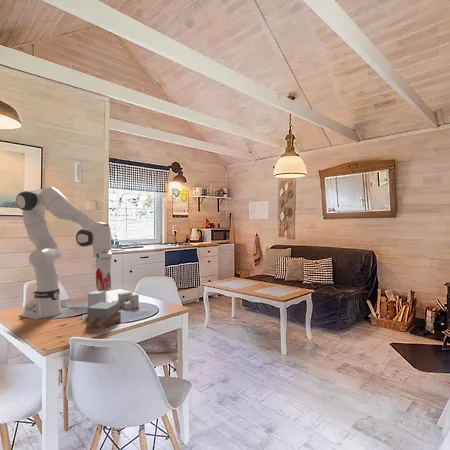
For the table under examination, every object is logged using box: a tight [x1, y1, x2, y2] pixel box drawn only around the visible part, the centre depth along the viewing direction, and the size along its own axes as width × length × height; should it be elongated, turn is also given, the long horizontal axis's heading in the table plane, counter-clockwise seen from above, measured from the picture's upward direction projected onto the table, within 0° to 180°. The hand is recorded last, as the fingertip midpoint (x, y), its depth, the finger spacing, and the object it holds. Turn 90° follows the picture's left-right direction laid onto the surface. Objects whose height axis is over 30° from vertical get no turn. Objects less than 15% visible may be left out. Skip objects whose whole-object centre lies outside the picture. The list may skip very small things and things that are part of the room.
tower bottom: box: [86, 311, 122, 329], centre depth 165 cm, size 12×12×5 cm
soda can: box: [95, 268, 112, 292], centre depth 163 cm, size 7×7×12 cm
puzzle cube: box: [111, 291, 140, 311], centre depth 194 cm, size 12×12×8 cm
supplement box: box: [87, 290, 107, 308], centre depth 181 cm, size 7×7×13 cm
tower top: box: [87, 301, 120, 319], centre depth 164 cm, size 11×11×5 cm
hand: (102, 279), depth 164 cm, fingers closed on soda can, 6 cm apart
